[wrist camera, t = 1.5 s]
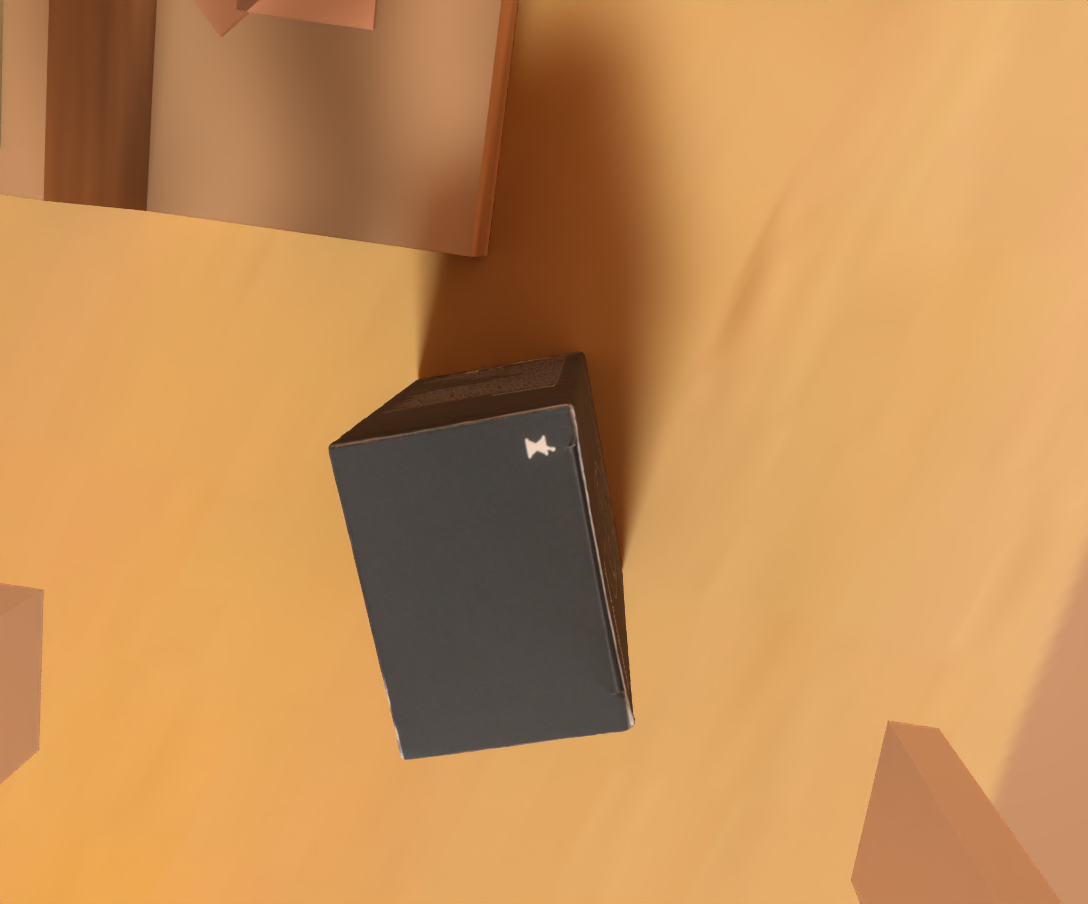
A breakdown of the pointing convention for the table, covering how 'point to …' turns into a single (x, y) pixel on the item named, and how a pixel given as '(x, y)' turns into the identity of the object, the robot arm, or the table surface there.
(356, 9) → the stand
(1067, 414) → the table surface
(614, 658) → the box
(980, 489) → the table surface
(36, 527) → the table surface
